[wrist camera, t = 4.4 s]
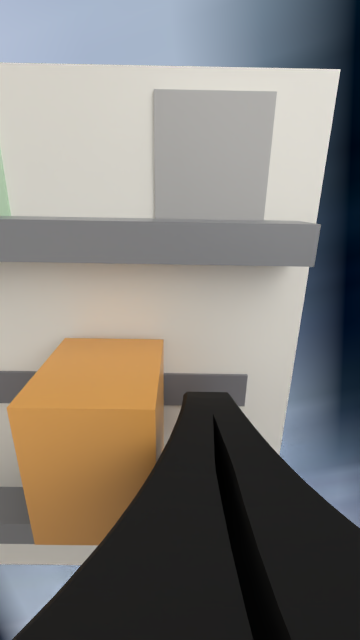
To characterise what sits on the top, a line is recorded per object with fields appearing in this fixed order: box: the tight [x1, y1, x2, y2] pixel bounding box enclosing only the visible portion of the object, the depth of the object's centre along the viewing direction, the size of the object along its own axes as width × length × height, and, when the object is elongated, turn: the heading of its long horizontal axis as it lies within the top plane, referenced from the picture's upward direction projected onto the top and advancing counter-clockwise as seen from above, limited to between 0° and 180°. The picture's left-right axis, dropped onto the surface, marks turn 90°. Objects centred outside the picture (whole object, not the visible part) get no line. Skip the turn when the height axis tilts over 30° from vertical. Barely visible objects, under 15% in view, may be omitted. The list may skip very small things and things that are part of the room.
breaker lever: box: [7, 338, 164, 545], centre depth 9 cm, size 4×3×4 cm
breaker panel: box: [0, 63, 340, 565], centre depth 11 cm, size 18×14×4 cm
